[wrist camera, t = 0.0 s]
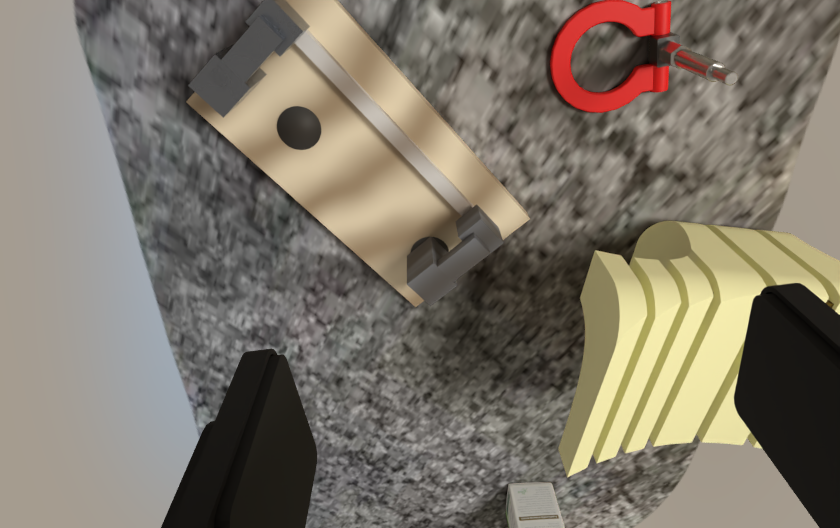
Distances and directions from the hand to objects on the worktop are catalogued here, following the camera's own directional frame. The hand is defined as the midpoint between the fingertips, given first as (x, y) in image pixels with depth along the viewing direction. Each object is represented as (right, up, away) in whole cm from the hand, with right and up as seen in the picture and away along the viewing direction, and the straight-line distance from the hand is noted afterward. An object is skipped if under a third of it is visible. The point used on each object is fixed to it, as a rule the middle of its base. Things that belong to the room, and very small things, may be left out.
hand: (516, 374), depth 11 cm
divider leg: (-14, +19, +30) cm, 38 cm away
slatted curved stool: (+25, 0, +44) cm, 50 cm away
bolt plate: (-6, +11, +36) cm, 39 cm away
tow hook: (+13, +19, +33) cm, 40 cm away
